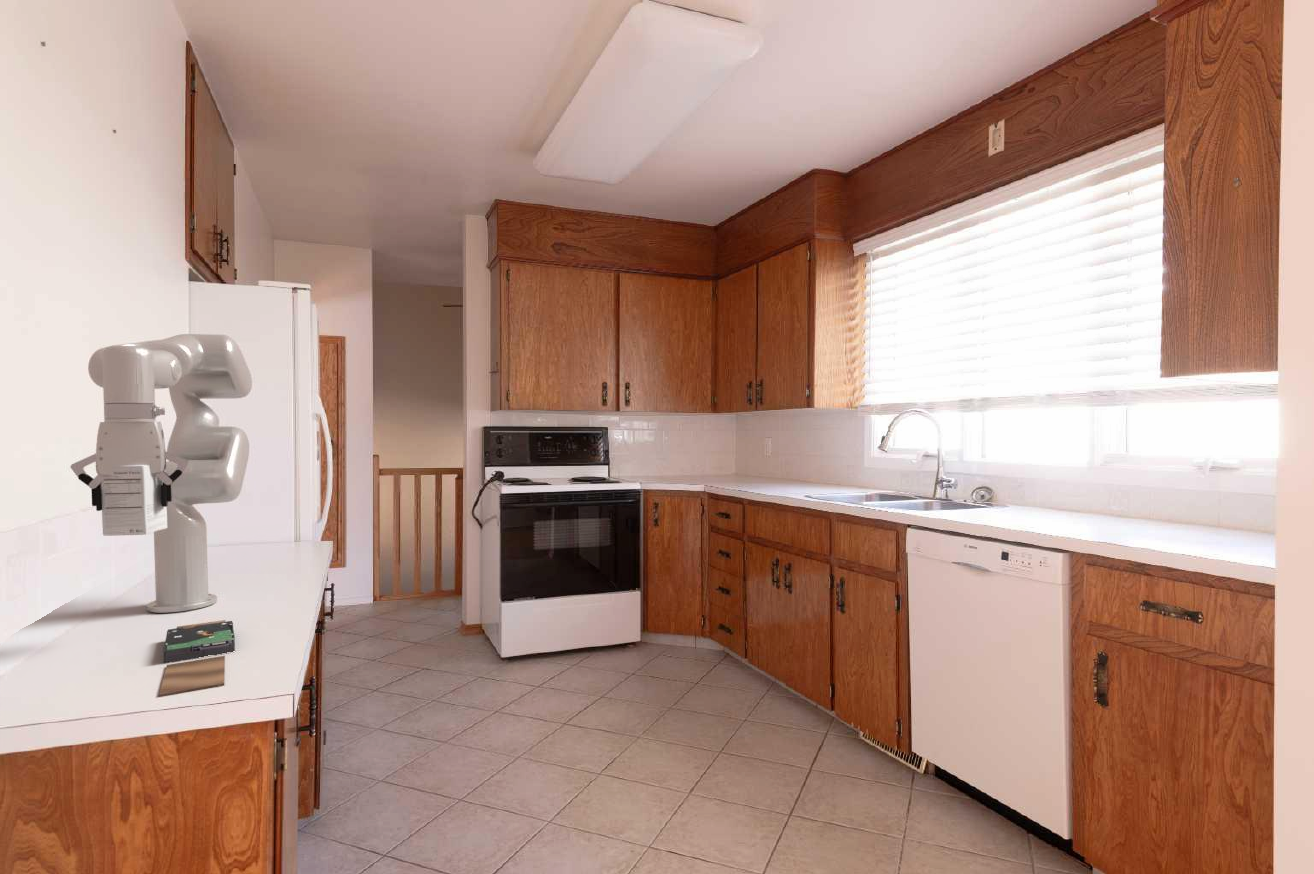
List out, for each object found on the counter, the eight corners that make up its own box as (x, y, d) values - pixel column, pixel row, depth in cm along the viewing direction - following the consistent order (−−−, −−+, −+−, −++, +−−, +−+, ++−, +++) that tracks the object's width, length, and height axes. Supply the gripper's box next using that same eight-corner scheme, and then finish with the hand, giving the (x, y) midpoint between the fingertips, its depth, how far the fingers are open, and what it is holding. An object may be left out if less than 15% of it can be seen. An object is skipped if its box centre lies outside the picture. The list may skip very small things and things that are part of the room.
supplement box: (126, 530, 133) (124, 463, 133) (168, 528, 134) (166, 462, 134) (100, 536, 126) (98, 465, 126) (145, 534, 127) (143, 464, 127)
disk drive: (166, 644, 128) (163, 666, 116) (166, 629, 128) (162, 649, 116) (232, 634, 134) (236, 654, 122) (232, 620, 134) (236, 638, 122)
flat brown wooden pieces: (177, 628, 137) (176, 626, 137) (225, 621, 141) (225, 619, 141) (159, 696, 102) (159, 694, 102) (224, 685, 106) (224, 683, 106)
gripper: (188, 414, 136) (190, 502, 137) (73, 415, 128) (76, 509, 128) (185, 413, 130) (188, 506, 130) (64, 414, 121) (68, 513, 121)
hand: (133, 507), depth 129 cm, fingers closed on supplement box, 9 cm apart
